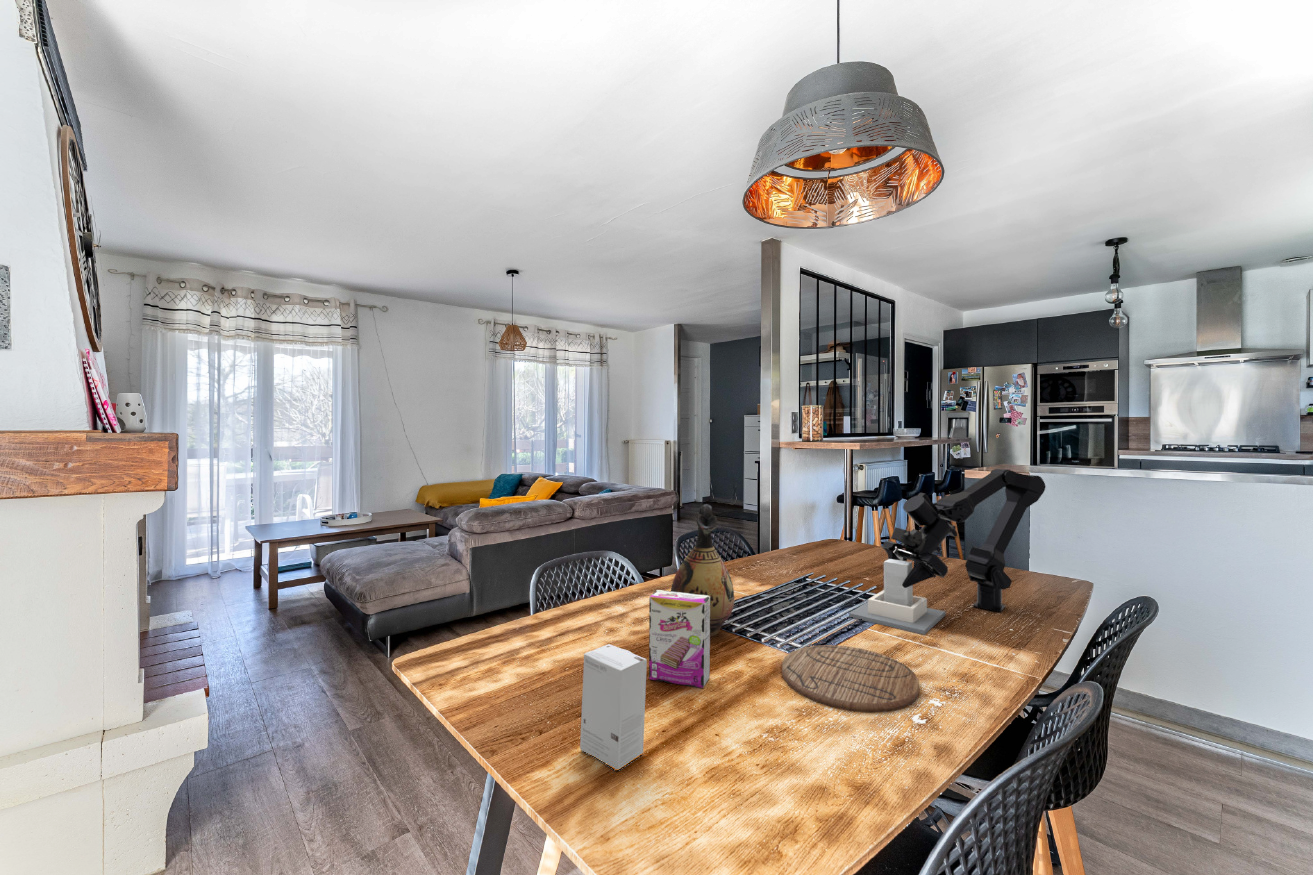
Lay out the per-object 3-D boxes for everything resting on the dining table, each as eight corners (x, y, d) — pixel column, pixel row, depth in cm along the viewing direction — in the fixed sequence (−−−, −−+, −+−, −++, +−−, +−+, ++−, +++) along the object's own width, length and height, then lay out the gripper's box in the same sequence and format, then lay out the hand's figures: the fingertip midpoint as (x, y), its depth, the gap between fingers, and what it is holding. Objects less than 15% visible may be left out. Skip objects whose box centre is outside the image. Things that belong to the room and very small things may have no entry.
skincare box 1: (579, 751, 82) (579, 653, 82) (608, 734, 86) (607, 641, 86) (619, 774, 76) (619, 669, 76) (647, 754, 81) (647, 655, 81)
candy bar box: (647, 680, 105) (647, 596, 104) (656, 670, 109) (656, 588, 109) (704, 689, 101) (704, 602, 101) (710, 678, 106) (710, 594, 105)
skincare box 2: (913, 608, 140) (913, 561, 140) (907, 612, 137) (907, 565, 137) (888, 603, 144) (888, 558, 144) (883, 607, 141) (883, 561, 141)
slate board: (875, 600, 153) (875, 597, 153) (945, 615, 141) (945, 611, 141) (849, 616, 140) (849, 613, 140) (924, 634, 128) (924, 630, 128)
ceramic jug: (738, 643, 123) (738, 511, 123) (670, 642, 123) (670, 510, 123) (729, 617, 140) (730, 500, 140) (669, 616, 140) (669, 500, 140)
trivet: (910, 729, 88) (910, 718, 88) (763, 690, 101) (763, 680, 101) (926, 670, 110) (926, 661, 110) (802, 645, 123) (802, 636, 123)
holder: (883, 602, 148) (883, 589, 148) (926, 611, 141) (926, 598, 141) (867, 612, 140) (868, 599, 140) (913, 623, 133) (913, 608, 133)
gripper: (887, 511, 150) (852, 554, 148) (937, 522, 132) (898, 571, 130) (912, 538, 152) (878, 580, 150) (965, 552, 134) (926, 601, 132)
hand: (893, 582), depth 140 cm, fingers closed on skincare box 2, 7 cm apart
